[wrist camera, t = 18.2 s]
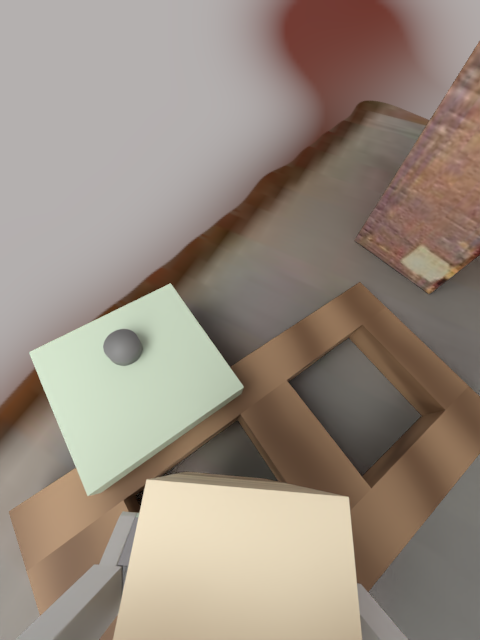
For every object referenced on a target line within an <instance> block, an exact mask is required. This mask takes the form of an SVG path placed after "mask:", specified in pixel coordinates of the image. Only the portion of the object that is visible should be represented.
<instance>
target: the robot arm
mask: <svg viewBox="0 0 480 640" xmlns="http://www.w3.org/2000/svg"><path fill="white" fill-rule="evenodd" d="M138 517H139V513H135V512H124V511H123V512H122V513H121V515H120V516H119V519H118V521H117V523H116V526H115V528H114V530H113V533H112V535H111V537H110V540H109V542H108V544H107V547H106V549H105V551H104V554H103V556H102V558H101V561H100V563H99V565H95V564H94V565H93V566H92V567H91V568H90V569H89V570H88V571H87V572H86V573H85V574H84V575H83V576H82V577H81V578H79V579H78V580H77V581H76V582H75V583H74V584H73V585H72V586H71V587H70V588H69V589H68V590H67V591H66V592H65V593H64V594H63V595H62V596H61V597H60V598H58V599H57V600H56V601H55V602H54V603H53V604H52V605H51V606H50V607H49V608H48V609H47V610H46V611H45V612H44V613H43V614H42V615H41V616H40V617H39V618H37V619H36V620H35V621H34V622H33V623H32V624H31V625H30V626H29V627H28V628H27V629H26V630H25V631H24V632H23V633H22V634H21V635H20V636H19V637H18V638H16V639H15V640H99V639H100V638H101V636H102V635H103V634H104V632H105V631H106V630H107V628H108V627H109V626H110V624H111V623H112V622H113V620H114V619H115V618H116V616H117V615H118V613H119V608H120V603H121V599H122V594H123V589H124V584H125V580H126V575H127V570H128V565H129V560H130V556H131V551H132V546H133V541H134V537H135V532H136V527H137V522H138ZM357 590H358V600H359V611H360V622H361V632H362V640H408V639H407V637H406V636H405V635H404V634H403V633H402V632H401V630H400V629H399V628H398V627H397V626H396V625H395V623H394V622H393V621H392V620H391V619H390V617H389V616H388V615H387V614H386V613H385V612H384V610H383V609H382V608H381V607H380V606H379V605H378V603H377V602H376V601H375V600H374V599H373V598H372V596H371V595H370V594H369V593H368V592H367V590H366V589H365V588H364V587H363V586H362V585H361V584H358V583H357Z"/></svg>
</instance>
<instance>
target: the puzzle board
mask: <svg viewBox="0 0 480 640" xmlns="http://www.w3.org/2000/svg"><path fill="white" fill-rule="evenodd" d="M347 338H350V339H351V341H352V342H353V343H354V344H355V345H356V346H357V347H358V348H359V349H360V350H361V351H362V352H363V353H364V354H365V355H366V357H367V358H368V359H369V360H370V361H371V362H372V363H373V364H374V365H375V366H376V367H377V368H378V369H379V370H380V372H381V373H382V374H383V375H384V376H385V377H386V378H387V379H388V380H389V381H390V382H391V383H392V384H393V385H394V387H395V388H396V389H397V390H398V391H399V392H400V393H401V394H402V395H403V396H404V397H405V398H406V399H407V400H408V402H409V403H410V404H411V405H412V406H413V407H414V408H415V409H416V410H417V411H418V412H419V413H420V414H421V415H422V416H421V417H420V418H419V419H418V420H417V421H416V422H415V423H414V424H413V425H412V426H411V427H410V428H409V429H408V430H407V431H406V432H405V433H404V434H403V435H402V436H401V437H400V438H399V439H398V440H397V442H396V443H395V444H394V445H393V446H392V447H391V448H390V449H389V450H388V451H387V452H386V453H385V454H384V455H383V456H382V457H381V458H380V459H379V460H378V461H377V462H376V463H375V464H374V465H373V466H372V467H371V468H370V469H369V470H368V471H367V472H366V473H365V474H364V475H363V476H361V475H360V473H359V472H358V471H357V470H356V468H355V467H354V466H353V464H352V463H351V462H350V461H349V459H348V458H347V457H346V455H345V454H344V453H343V452H342V450H341V449H340V448H339V446H338V445H337V444H336V443H335V441H334V440H333V439H332V438H331V436H330V435H329V434H328V432H327V431H326V430H325V429H324V427H323V426H322V425H321V423H320V422H319V421H318V420H317V418H316V417H315V416H314V414H313V413H312V412H311V411H310V409H309V408H308V407H307V405H306V404H305V403H304V402H303V400H302V399H301V398H300V397H299V395H298V394H297V393H296V391H295V390H294V389H293V388H292V386H291V385H290V384H289V381H290V380H292V379H293V378H295V377H296V376H297V375H299V374H300V373H301V372H303V371H304V370H305V369H307V368H308V367H309V366H311V365H312V364H313V363H315V362H316V361H318V360H319V359H320V358H322V357H323V356H324V355H326V354H327V353H328V352H330V351H331V350H332V349H334V348H335V347H336V346H338V345H339V344H340V343H342V342H343V341H345V340H346V339H347ZM230 368H231V369H232V371H233V372H234V374H235V375H236V376H237V378H238V379H239V381H240V382H241V383H242V385H243V386H244V388H243V391H242V393H241V394H240V395H239V396H238V397H236V398H235V399H233V400H232V401H230V402H229V403H228V404H226V405H225V406H223V407H222V408H221V409H219V410H218V411H216V412H215V413H213V414H212V415H211V416H209V417H208V418H206V419H205V420H204V421H202V422H201V423H199V424H198V425H196V426H195V427H194V428H192V429H191V430H189V431H188V432H187V433H185V434H184V435H182V436H181V437H179V438H178V439H177V440H175V441H174V442H172V443H171V444H170V445H168V446H167V447H165V448H164V449H162V450H161V451H160V452H158V453H157V454H155V455H154V456H153V457H151V458H150V459H148V460H147V461H145V462H144V463H143V464H141V465H140V466H138V467H137V468H135V469H134V470H133V471H131V472H130V473H128V474H127V475H126V476H124V477H123V478H121V479H120V480H118V481H117V482H116V483H114V484H113V485H111V486H110V487H109V488H107V489H106V490H104V491H103V492H101V493H98V494H94V495H90V496H87V493H86V491H85V489H84V486H83V484H82V481H81V479H80V476H79V474H78V471H77V469H76V468H75V469H73V470H72V471H70V472H69V473H67V474H66V475H64V476H63V477H61V478H59V479H58V480H56V481H55V482H53V483H52V484H50V485H49V486H47V487H46V488H44V489H43V490H41V491H40V492H38V493H37V494H35V495H33V496H32V497H30V498H29V499H27V500H26V501H24V502H23V503H21V504H20V505H18V506H17V507H15V508H14V509H12V510H11V511H9V514H10V517H11V521H12V524H13V527H14V531H15V534H16V537H17V541H18V544H19V547H20V551H21V554H22V557H23V561H24V564H25V567H26V571H27V574H28V577H29V581H30V584H31V587H32V590H33V594H34V597H35V600H36V604H37V607H38V610H39V614H40V616H41V615H42V614H43V613H44V612H45V611H46V610H47V609H48V608H49V607H50V606H51V605H52V604H53V603H54V602H55V601H56V600H57V599H58V598H60V597H61V596H62V595H63V594H64V593H65V592H66V591H67V590H68V589H69V588H70V587H71V586H72V585H73V584H74V583H75V582H76V581H77V580H78V579H79V578H81V577H82V576H83V575H84V574H85V573H86V572H87V571H88V570H89V569H90V568H91V567H92V566H93V565H94V564H95V565H99V563H100V561H101V558H102V556H103V554H104V551H105V549H106V547H107V544H108V542H109V540H110V537H111V535H112V533H113V530H114V528H115V526H116V523H117V521H118V519H119V516H120V515H121V513H122V512H123V511H124V512H135V513H140V506H139V504H138V502H137V500H136V497H135V495H136V494H138V493H139V492H141V491H142V490H143V489H145V484H146V479H151V478H156V477H161V476H162V475H163V474H165V473H166V472H168V471H169V470H170V469H172V468H173V467H174V466H176V465H177V464H178V463H180V462H181V461H182V460H184V459H185V458H186V457H188V456H189V455H191V454H192V453H193V452H195V451H196V450H197V449H199V448H200V447H201V446H203V445H204V444H205V443H207V442H208V441H209V440H211V439H212V438H213V437H215V436H216V435H218V434H219V433H220V432H222V431H223V430H224V429H226V428H227V427H228V426H230V425H231V424H232V423H234V422H235V421H236V420H238V421H239V423H240V424H241V426H242V427H243V429H244V430H245V432H246V433H247V435H248V436H249V438H250V439H251V441H252V442H253V444H254V445H255V447H256V448H257V450H258V451H259V453H260V454H261V456H262V457H263V459H264V460H265V462H266V463H267V465H268V466H269V468H270V469H271V471H272V472H273V474H274V475H275V477H276V478H277V480H278V481H279V482H283V483H287V484H292V485H296V486H301V487H305V488H310V489H315V490H319V491H324V492H328V493H333V494H338V495H342V496H347V497H349V505H350V515H351V526H352V536H353V547H354V558H355V568H356V579H357V583H358V584H361V585H362V586H363V587H364V588H365V589H366V590H367V592H368V591H369V590H370V589H371V588H372V587H373V585H374V584H375V583H376V582H377V580H378V579H379V578H380V577H381V575H382V574H383V573H384V572H385V570H386V569H387V568H388V567H389V565H390V564H391V563H392V562H393V560H394V559H395V558H396V557H397V555H398V554H399V553H400V552H401V551H402V549H403V548H404V547H405V546H406V544H407V543H408V542H409V541H410V539H411V538H412V537H413V536H414V534H415V533H416V532H417V531H418V529H419V528H420V527H421V526H422V524H423V523H424V522H425V521H426V519H427V518H428V517H429V516H430V515H431V513H432V512H433V511H434V510H435V508H436V507H437V506H438V505H439V503H440V502H441V501H442V500H443V498H444V497H445V496H446V495H447V493H448V492H449V491H450V490H451V488H452V487H453V486H454V485H455V483H456V482H457V481H458V480H459V478H460V477H461V476H462V475H463V474H464V472H465V471H466V470H467V469H468V467H469V466H470V465H471V464H472V462H473V461H474V460H475V459H476V457H477V456H478V455H479V454H480V396H479V395H477V394H476V393H475V392H474V391H473V390H472V389H471V388H470V387H469V386H468V385H467V384H466V383H465V382H464V381H463V380H462V379H461V378H460V377H459V376H458V375H457V374H456V373H454V372H453V371H452V370H451V369H450V368H449V367H448V366H447V365H446V364H445V363H444V362H443V361H442V360H441V359H440V358H439V357H438V356H437V355H436V354H435V353H434V352H433V351H431V350H430V349H429V348H428V347H427V346H426V345H425V344H424V343H423V342H422V341H421V340H420V339H419V338H418V337H417V336H416V335H415V334H414V333H413V332H412V331H411V330H409V329H408V328H407V327H406V326H405V325H404V324H403V323H402V322H401V321H400V320H399V319H398V318H397V317H396V316H395V315H394V314H393V313H392V312H391V311H390V310H389V309H388V308H386V307H385V306H384V305H383V304H382V303H381V302H380V301H379V300H378V299H377V298H376V297H375V296H374V295H373V294H372V293H371V292H370V291H369V290H368V289H367V288H366V287H365V286H363V285H362V284H361V283H360V282H359V283H358V284H356V285H355V286H353V287H352V288H350V289H349V290H347V291H345V292H344V293H342V294H341V295H339V296H338V297H336V298H335V299H333V300H332V301H330V302H329V303H327V304H326V305H324V306H323V307H321V308H319V309H318V310H316V311H315V312H313V313H312V314H310V315H309V316H307V317H306V318H304V319H303V320H301V321H300V322H298V323H297V324H295V325H293V326H292V327H290V328H289V329H287V330H286V331H284V332H283V333H281V334H280V335H278V336H277V337H275V338H274V339H272V340H271V341H269V342H267V343H266V344H264V345H263V346H261V347H260V348H258V349H257V350H255V351H254V352H252V353H251V354H249V355H248V356H246V357H245V358H243V359H241V360H240V361H238V362H237V363H235V364H234V365H232V366H231V367H230ZM117 618H118V615H117V616H116V618H115V619H114V620H113V622H112V623H111V624H110V626H109V627H108V628H107V630H106V631H105V632H104V634H103V635H102V636H101V638H100V639H99V640H113V637H114V632H115V627H116V623H117Z"/></svg>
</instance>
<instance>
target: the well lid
mask: <svg viewBox="0 0 480 640" xmlns="http://www.w3.org/2000/svg"><path fill="white" fill-rule="evenodd" d="M29 354H30V356H31V359H32V361H33V364H34V366H35V368H36V371H37V373H38V376H39V378H40V381H41V383H42V386H43V388H44V391H45V393H46V395H47V398H48V400H49V403H50V405H51V408H52V410H53V413H54V415H55V417H56V420H57V422H58V425H59V427H60V430H61V432H62V435H63V437H64V440H65V442H66V444H67V447H68V449H69V452H70V454H71V457H72V459H73V462H74V464H75V466H76V469H77V471H78V474H79V476H80V479H81V481H82V484H83V486H84V489H85V491H86V493H87V496H90V495H94V494H98V493H101V492H103V491H104V490H106V489H107V488H109V487H110V486H111V485H113V484H114V483H116V482H117V481H118V480H120V479H121V478H123V477H124V476H126V475H127V474H128V473H130V472H131V471H133V470H134V469H135V468H137V467H138V466H140V465H141V464H143V463H144V462H145V461H147V460H148V459H150V458H151V457H153V456H154V455H155V454H157V453H158V452H160V451H161V450H162V449H164V448H165V447H167V446H168V445H170V444H171V443H172V442H174V441H175V440H177V439H178V438H179V437H181V436H182V435H184V434H185V433H187V432H188V431H189V430H191V429H192V428H194V427H195V426H196V425H198V424H199V423H201V422H202V421H204V420H205V419H206V418H208V417H209V416H211V415H212V414H213V413H215V412H216V411H218V410H219V409H221V408H222V407H223V406H225V405H226V404H228V403H229V402H230V401H232V400H233V399H235V398H236V397H238V396H239V395H240V394H241V393H242V391H243V388H244V386H243V385H242V383H241V382H240V381H239V379H238V378H237V376H236V375H235V374H234V372H233V371H232V369H231V368H230V367H229V365H228V364H227V362H226V361H225V359H224V358H223V357H222V355H221V354H220V352H219V351H218V350H217V348H216V347H215V345H214V344H213V343H212V341H211V340H210V338H209V337H208V335H207V334H206V333H205V331H204V330H203V328H202V327H201V326H200V324H199V323H198V321H197V320H196V319H195V317H194V316H193V314H192V313H191V312H190V310H189V309H188V307H187V306H186V304H185V303H184V302H183V300H182V299H181V297H180V296H179V295H178V293H177V292H176V290H175V289H174V288H173V286H172V285H171V283H170V284H168V285H166V286H164V287H162V288H160V289H158V290H156V291H154V292H152V293H150V294H148V295H146V296H144V297H142V298H140V299H138V300H136V301H133V302H131V303H129V304H127V305H125V306H123V307H121V308H119V309H117V310H115V311H113V312H111V313H109V314H107V315H105V316H103V317H101V318H99V319H97V320H94V321H92V322H90V323H88V324H86V325H84V326H82V327H80V328H78V329H76V330H74V331H72V332H70V333H68V334H66V335H64V336H62V337H60V338H58V339H56V340H53V341H51V342H49V343H47V344H45V345H43V346H41V347H39V348H37V349H35V350H33V351H31V352H29Z"/></svg>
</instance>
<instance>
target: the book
mask: <svg viewBox="0 0 480 640" xmlns="http://www.w3.org/2000/svg"><path fill="white" fill-rule="evenodd" d="M355 241H356V242H357V243H359V244H360V245H362V246H363V247H364V248H366V249H367V250H369V251H370V252H371V253H373V254H374V255H376V256H377V257H378V258H380V259H381V260H382V261H384V262H385V263H387V264H388V265H389V266H391V267H392V268H394V269H395V270H396V271H398V272H399V273H401V274H402V275H403V276H405V277H406V278H408V279H409V280H410V281H412V282H413V283H414V284H416V285H417V286H419V287H420V288H421V289H423V290H424V291H426V292H427V293H428V294H430V293H432V292H433V291H434V290H436V289H437V288H438V287H439V286H441V285H442V284H443V283H444V282H446V281H447V280H448V279H450V278H451V277H452V276H453V275H455V274H456V273H457V272H458V271H460V270H461V269H462V268H464V267H465V266H466V265H467V264H469V263H470V262H471V261H472V260H474V259H475V258H476V257H478V256H479V255H480V41H479V43H478V45H477V46H476V48H475V49H474V51H473V53H472V54H471V55H470V57H469V59H468V60H467V62H466V64H465V65H464V67H463V68H462V70H461V71H460V73H459V75H458V76H457V78H456V79H455V81H454V82H453V84H452V86H451V87H450V89H449V90H448V92H447V94H446V96H445V97H444V98H443V100H442V102H441V103H440V105H439V107H438V108H437V110H436V111H435V113H434V115H433V116H432V118H431V119H430V121H429V122H428V124H427V125H426V127H425V129H424V130H423V132H422V133H421V135H420V137H419V138H418V140H417V141H416V143H415V145H414V146H413V148H412V149H411V151H410V152H409V154H408V156H407V157H406V159H405V160H404V162H403V164H402V165H401V167H400V168H399V170H398V172H397V173H396V175H395V176H394V178H393V180H392V181H391V183H390V184H389V186H388V187H387V189H386V191H385V192H384V194H383V195H382V197H381V199H380V200H379V202H378V203H377V205H376V207H375V208H374V210H373V211H372V213H371V215H370V216H369V218H368V219H367V221H366V222H365V224H364V226H363V227H362V229H361V230H360V232H359V234H358V235H357V237H356V238H355Z"/></svg>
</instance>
